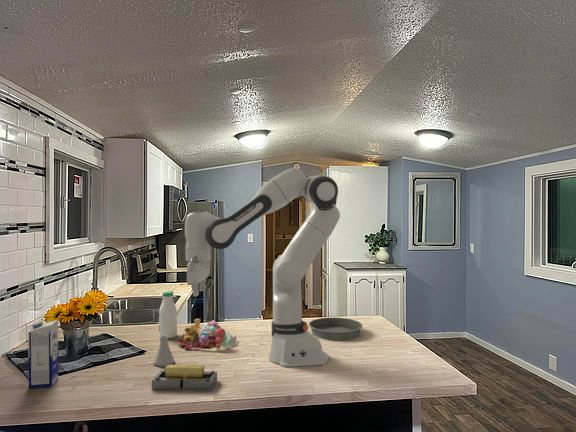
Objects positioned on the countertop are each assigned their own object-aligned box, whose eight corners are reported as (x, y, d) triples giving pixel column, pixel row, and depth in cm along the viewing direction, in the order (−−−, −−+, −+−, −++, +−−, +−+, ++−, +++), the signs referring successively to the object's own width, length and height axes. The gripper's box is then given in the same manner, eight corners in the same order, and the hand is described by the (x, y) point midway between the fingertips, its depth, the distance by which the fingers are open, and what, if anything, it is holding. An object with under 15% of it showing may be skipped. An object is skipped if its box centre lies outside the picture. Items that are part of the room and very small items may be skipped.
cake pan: (298, 336, 195) (298, 326, 195) (323, 324, 216) (323, 314, 216) (349, 345, 182) (349, 334, 182) (370, 331, 203) (370, 321, 203)
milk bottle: (180, 335, 195) (180, 291, 195) (167, 340, 189) (167, 294, 188) (168, 333, 199) (168, 289, 199) (155, 337, 193) (155, 292, 193)
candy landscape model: (169, 350, 175) (169, 327, 175) (191, 334, 199) (191, 314, 199) (228, 354, 171) (228, 330, 171) (244, 336, 194) (244, 316, 194)
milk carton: (51, 386, 139) (51, 324, 138) (28, 388, 137) (27, 325, 137) (58, 378, 146) (58, 319, 145) (36, 380, 144) (35, 320, 144)
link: (187, 380, 144) (187, 370, 144) (179, 390, 136) (179, 379, 136) (160, 379, 144) (160, 369, 144) (151, 389, 136) (151, 378, 136)
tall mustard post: (204, 380, 141) (204, 365, 141) (202, 383, 138) (202, 368, 138) (168, 379, 142) (168, 364, 141) (165, 383, 139) (165, 367, 139)
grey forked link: (217, 380, 143) (217, 370, 143) (211, 390, 135) (211, 380, 135) (190, 380, 144) (190, 370, 144) (183, 390, 136) (183, 379, 136)
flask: (163, 368, 155) (163, 340, 154) (149, 365, 158) (149, 337, 158) (178, 362, 161) (178, 335, 161) (164, 359, 165) (164, 332, 164)
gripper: (199, 258, 147) (201, 299, 147) (212, 252, 167) (213, 288, 168) (181, 258, 147) (182, 299, 147) (196, 252, 168) (197, 288, 168)
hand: (199, 293), depth 158 cm, fingers open, 8 cm apart
